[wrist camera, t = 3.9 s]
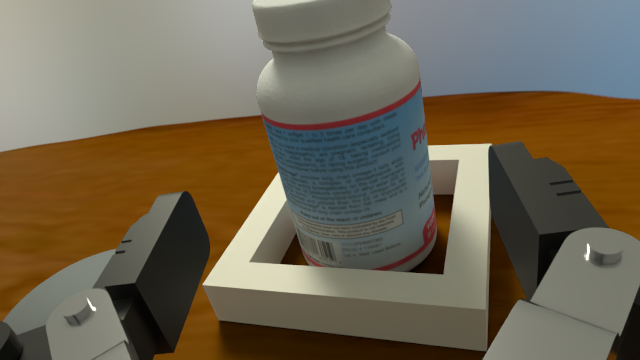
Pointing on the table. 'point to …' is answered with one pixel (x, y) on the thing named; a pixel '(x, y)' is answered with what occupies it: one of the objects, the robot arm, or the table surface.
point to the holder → (367, 271)
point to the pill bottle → (347, 133)
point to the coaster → (56, 292)
